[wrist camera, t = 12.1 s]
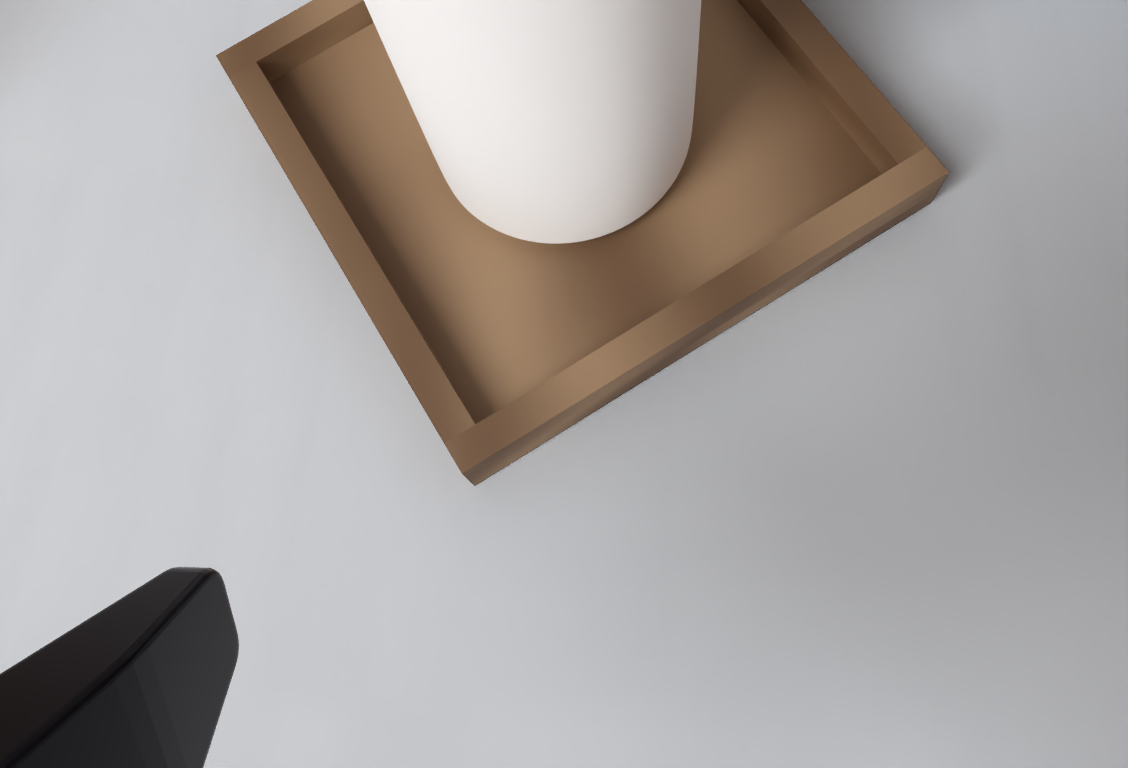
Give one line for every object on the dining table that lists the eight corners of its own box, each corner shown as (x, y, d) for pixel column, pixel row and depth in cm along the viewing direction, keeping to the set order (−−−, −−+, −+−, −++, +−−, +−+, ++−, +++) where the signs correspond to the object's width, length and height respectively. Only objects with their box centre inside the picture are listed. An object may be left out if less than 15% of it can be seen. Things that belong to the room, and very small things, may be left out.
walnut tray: (474, 486, 22) (462, 473, 21) (240, 89, 26) (216, 55, 25) (930, 203, 23) (948, 172, 22) (641, -141, 27) (640, -187, 26)
